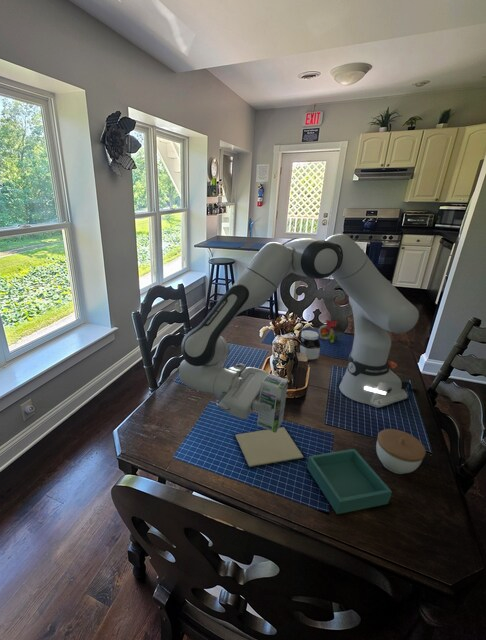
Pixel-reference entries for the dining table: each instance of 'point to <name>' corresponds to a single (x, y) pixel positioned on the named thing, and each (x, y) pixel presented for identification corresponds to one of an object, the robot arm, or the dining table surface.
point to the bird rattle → (325, 331)
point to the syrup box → (275, 394)
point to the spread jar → (310, 344)
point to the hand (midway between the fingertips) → (275, 400)
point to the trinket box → (399, 451)
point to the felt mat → (267, 447)
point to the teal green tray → (348, 481)
